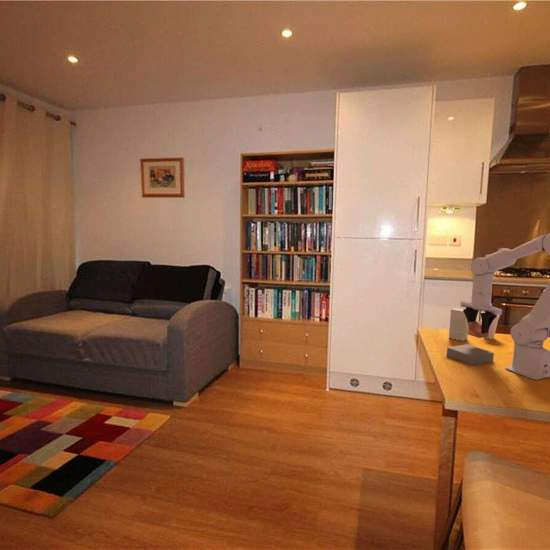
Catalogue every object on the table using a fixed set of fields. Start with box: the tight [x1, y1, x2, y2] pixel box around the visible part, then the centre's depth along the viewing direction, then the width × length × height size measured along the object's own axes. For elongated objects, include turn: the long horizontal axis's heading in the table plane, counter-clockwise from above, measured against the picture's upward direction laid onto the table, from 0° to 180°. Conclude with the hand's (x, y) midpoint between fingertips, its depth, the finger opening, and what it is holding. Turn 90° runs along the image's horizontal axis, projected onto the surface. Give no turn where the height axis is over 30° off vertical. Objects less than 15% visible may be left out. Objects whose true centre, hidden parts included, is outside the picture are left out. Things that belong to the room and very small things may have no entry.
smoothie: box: [483, 303, 501, 340], centre depth 151 cm, size 6×6×14 cm
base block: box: [446, 343, 495, 366], centre depth 126 cm, size 10×10×3 cm
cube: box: [468, 320, 489, 339], centre depth 130 cm, size 4×4×4 cm
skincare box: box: [448, 307, 469, 342], centre depth 149 cm, size 6×4×12 cm
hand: (478, 331), depth 130 cm, fingers closed on cube, 4 cm apart
